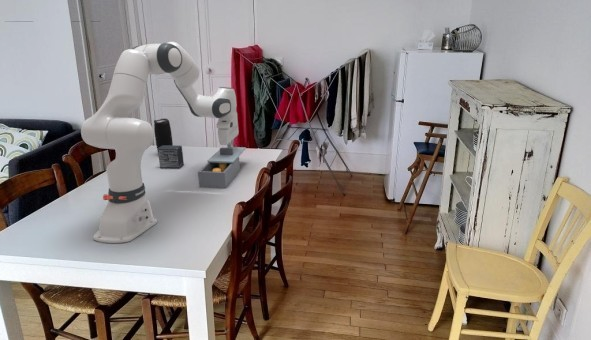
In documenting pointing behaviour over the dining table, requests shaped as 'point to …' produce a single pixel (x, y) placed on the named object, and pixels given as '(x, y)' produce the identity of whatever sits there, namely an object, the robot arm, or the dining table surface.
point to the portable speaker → (162, 133)
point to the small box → (170, 156)
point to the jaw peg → (216, 170)
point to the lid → (227, 155)
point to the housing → (218, 175)
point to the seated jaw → (223, 166)
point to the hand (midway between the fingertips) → (230, 148)
